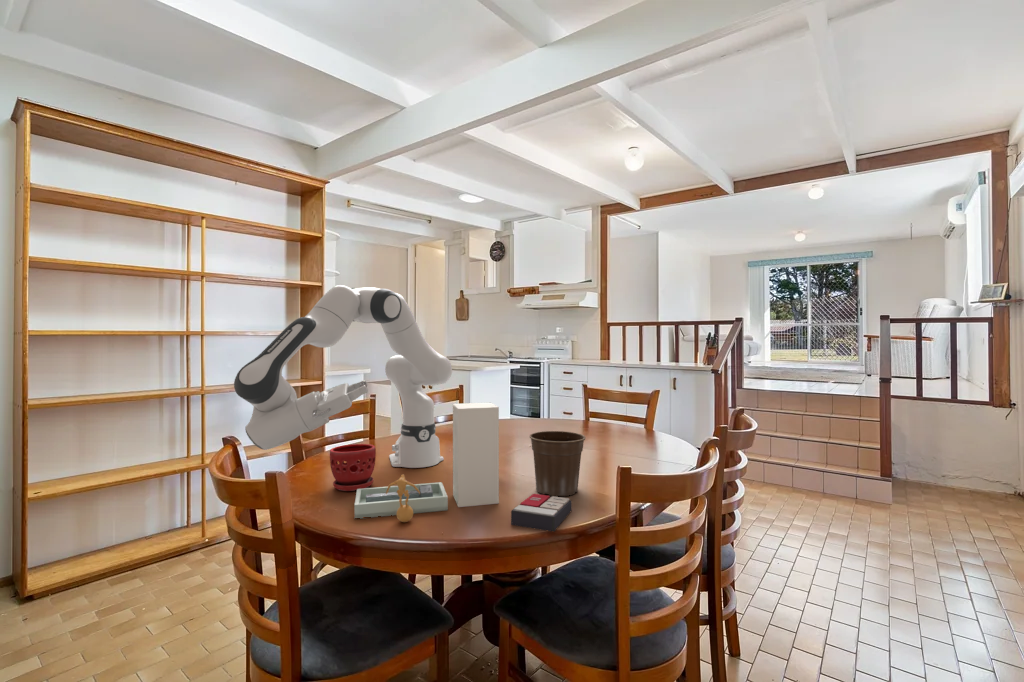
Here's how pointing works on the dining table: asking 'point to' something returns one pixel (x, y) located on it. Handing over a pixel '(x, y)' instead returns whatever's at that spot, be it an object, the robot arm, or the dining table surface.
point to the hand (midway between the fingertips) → (366, 385)
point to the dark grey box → (541, 512)
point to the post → (475, 454)
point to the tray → (390, 507)
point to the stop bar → (423, 489)
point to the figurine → (404, 510)
